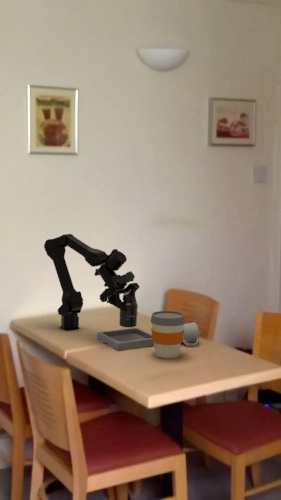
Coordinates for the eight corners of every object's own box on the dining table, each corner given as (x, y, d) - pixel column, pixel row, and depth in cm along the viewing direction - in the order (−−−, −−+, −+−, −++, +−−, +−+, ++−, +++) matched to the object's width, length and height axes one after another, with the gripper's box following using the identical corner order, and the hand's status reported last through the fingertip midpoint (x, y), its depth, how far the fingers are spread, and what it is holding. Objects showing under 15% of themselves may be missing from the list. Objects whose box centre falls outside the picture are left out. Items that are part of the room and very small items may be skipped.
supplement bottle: (129, 328, 245) (130, 298, 244) (115, 325, 249) (116, 295, 248) (140, 325, 251) (141, 295, 249) (126, 322, 255) (127, 292, 253)
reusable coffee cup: (154, 360, 228) (155, 319, 226) (146, 350, 240) (147, 311, 238) (188, 358, 230) (189, 318, 228) (179, 348, 242) (180, 310, 240)
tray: (118, 350, 239) (118, 343, 238) (97, 339, 254) (97, 332, 254) (159, 344, 247) (159, 337, 247) (136, 334, 263) (136, 327, 263)
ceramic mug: (173, 340, 254) (173, 321, 253) (191, 339, 257) (192, 320, 256) (183, 348, 244) (184, 328, 243) (203, 346, 247) (204, 327, 246)
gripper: (105, 268, 242) (127, 301, 237) (136, 262, 257) (157, 293, 251) (90, 285, 248) (111, 318, 243) (121, 279, 263) (141, 310, 257)
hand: (131, 309), depth 248 cm, fingers closed on supplement bottle, 7 cm apart
